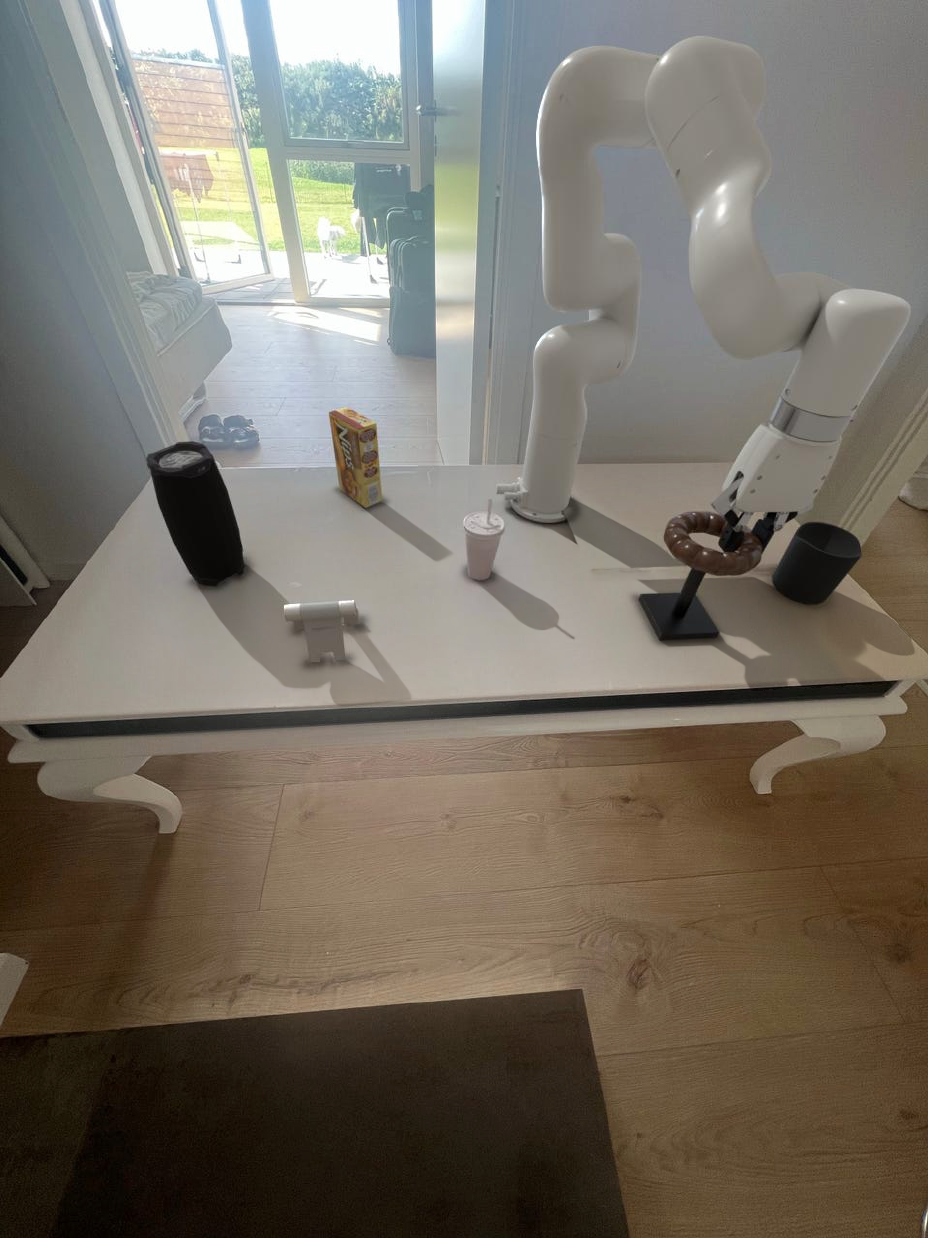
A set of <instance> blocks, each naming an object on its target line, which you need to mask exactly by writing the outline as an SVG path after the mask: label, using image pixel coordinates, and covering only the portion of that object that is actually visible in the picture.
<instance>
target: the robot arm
mask: <svg viewBox="0 0 928 1238" xmlns="http://www.w3.org/2000/svg"><path fill="white" fill-rule="evenodd" d="M766 71H767V70H766V66H765V64H764V61H763V59H762V57H761V56H760V55H759V53H758V52H757V51H756V50H755V49H753V47H751V46H749V45H746V44H744V43H740V42H735V41H731V40H726V39H722V38H717V37H714V36H708V35H695V36H690V37H687V38H684V39H682V40H680V41H678V42H677V43H675V44H674V45H672V46H671V47H670V48H669V49H667V50H666V51H665V52H664V53H663V54H662V55H659V54H654V53H649V52H643V51H638V50H631V49H629V48H624V47H618V46H613V45H590V46H586V47H582V48H579V49H577V50H576V51H573V52H572V53H570V54H569V55H567V56H566V57H565V58H564V59H563V60H562V61H561V63H560V64H558V66H557V67H556V69H555V70H554V71H553V74H551V76H550V78H549V80H548V83H547V85H546V88H545V90H544V92H543V95H542V99H541V102H540V107H539V109H538V115H537V122H536V136H535V137H536V142H535V143H536V159H537V166H538V174H539V181H540V183H539V184H540V191H541V192H540V194H541V271H542V272H541V273H542V274H541V275H542V292H543V297H544V300H545V303H546V305H547V306H548V307H549V308H550V309H551V310H552V311H554V312H557V313H563V314H568V313H569V314H570V313H579V312H584V311H585V312H586V311H588V320H580V321H579V320H578V321H573V322H567V323H564V324H560V325H557V326H554V327H553V328H551V329H549V330H548V331H546V332H544V334H542V336H541V337H540V338H539V340H538V341H537V343H536V345H535V346H534V350H533V355H532V376H533V392H532V403H531V404H532V405H531V406H532V407H531V411H530V419H529V420H530V421H529V428H528V434H527V441H526V449H525V454H524V455H525V456H524V462H523V468H522V476H518V477H517V482H512V483H511V484H507V483H496V484H495V489H494V491H495V495H503V500H504V501H510V505H511V507H512V509H513V510H514V512H516V513H517V514H518V515H519V516H521V517H523V518H525V519H527V520H529V521H532V522H533V521H534V522H537V523H543V524H554V523H560V522H564V521H566V520H568V519H567V516H566V513H565V511H564V510H565V509H566V508H568V506H569V503H570V499H571V494H572V490H573V486H574V481H575V477H576V472H577V467H578V464H579V459H580V455H581V449H582V446H583V441H584V436H585V433H586V427H587V423H588V407H587V402H586V399H585V390H586V389H587V388H589V387H592V386H596V385H600V384H603V383H607V382H611V381H613V380H616V379H618V378H620V377H621V376H623V375H624V374H625V373H626V372H627V371H628V370H629V368H630V366H631V364H632V363H633V360H634V358H635V354H636V349H637V342H638V333H639V332H638V330H639V320H640V319H639V318H640V308H641V297H642V283H643V267H642V261H641V256H640V253H639V250H638V248H637V245H636V244H635V243H634V242H633V240H632V239H631V238H629V237H628V236H626V235H625V234H623V233H622V234H621V233H618V232H606V233H605V205H606V204H605V203H606V197H605V196H606V195H605V186H604V181H603V176H602V173H601V170H600V166H599V164H598V162H597V159H596V156H595V150H596V149H597V148H598V147H610V148H625V149H626V148H627V149H628V148H629V149H642V150H643V149H648V150H649V149H652V150H653V149H655V150H656V149H657V150H658V151H659V153H660V155H661V157H662V160H663V162H664V164H665V167H666V169H667V171H668V173H669V175H670V178H671V180H672V182H673V185H674V186H675V188H676V192H677V193H678V195H679V198H680V200H681V202H682V205H683V207H684V209H685V211H686V213H687V216H688V219H689V221H690V225H691V229H690V234H689V242H688V272H689V273H688V275H689V276H688V277H689V283H690V286H691V290H692V293H693V296H694V299H695V302H696V304H697V307H698V308H699V311H700V313H701V316H702V318H703V320H704V322H705V324H706V326H707V329H708V330H709V332H710V334H711V336H712V337H713V339H714V340H715V342H716V343H717V345H718V346H719V347H720V348H721V350H722V351H723V352H725V353H726V354H727V355H728V356H730V357H733V358H735V359H737V360H744V361H751V360H752V361H753V360H757V359H760V358H765V357H768V356H772V355H775V354H781V353H789V352H800V355H799V357H798V358H797V361H796V363H795V365H794V367H793V369H792V371H791V373H790V376H789V378H788V380H787V382H786V384H785V386H784V388H783V390H782V392H781V394H780V397H779V398H778V401H777V402H776V405H775V407H774V409H773V411H772V412H771V414H770V417H769V420H768V421H764V422H761V423H760V424H759V425H758V426H757V427H756V429H755V430H754V431H753V433H752V434H751V436H750V437H749V438H748V440H747V441H746V443H745V444H744V446H743V448H742V449H741V450H740V452H739V454H738V456H737V458H735V459H736V460H734V463H733V465H732V467H731V468H730V470H729V472H728V474H727V476H726V478H725V479H724V482H723V484H722V487H721V493H720V494H719V495H718V496H717V497H715V499H714V500H713V501H712V502H711V504H710V506H711V507H712V508H713V509H714V511H715V513H717V514H721V515H722V516H724V518H725V520H726V521H727V522H728V523H727V525H726V527H725V529H724V531H723V533H722V535H721V537H719V539H718V542H717V544H718V547H719V548H720V549H721V550H722V552H735V551H736V549H737V548H738V546H739V544H740V542H741V540H742V538H743V537H744V532H743V528H744V527H745V525H746V526H747V524H748V523H749V521H750V519H751V518H752V517H753V515H754V514H755V513H764V514H763V517H762V518H759V519H757V520H756V522H755V524H754V526H753V527H752V529H751V530H752V531H753V533H754V534H755V535H756V536H757V537H758V539H759V540H760V541H761V543H762V555H763V554H764V552H765V551H766V549H767V547H768V545H769V543H770V541H771V540H772V538H773V537H774V535H775V532H776V533H777V532H780V531H781V530H782V529H783V528H784V526H785V524H787V523H789V522H790V521H792V520H793V519H795V518H796V517H797V516H801V515H803V514H805V513H807V512H810V511H812V510H813V508H814V505H815V504H814V502H815V501H814V500H815V498H816V497H817V495H818V493H819V492H820V490H821V488H822V486H823V485H824V483H825V481H826V480H827V479H826V478H827V477H828V475H829V473H830V471H831V470H832V467H833V465H834V462H835V460H836V457H837V455H838V453H839V450H840V447H841V444H842V441H843V437H842V435H843V433H844V432H845V430H846V428H847V426H848V425H849V423H852V422H854V421H855V420H856V419H857V417H858V411H857V410H858V407H859V406H860V404H861V402H862V401H863V399H864V397H865V395H866V394H867V393H868V391H869V389H870V387H871V386H872V384H873V382H874V380H875V379H876V378H877V376H878V374H879V372H880V371H881V370H882V367H883V366H884V364H885V362H886V361H887V359H888V357H889V356H890V354H891V352H892V351H893V349H894V347H895V345H896V343H897V342H898V340H899V338H900V337H901V335H902V333H903V332H904V330H905V328H906V326H907V324H908V323H909V321H910V317H911V314H912V313H911V312H912V310H911V309H912V308H911V305H910V303H909V302H908V301H906V300H905V299H904V298H903V297H900V296H898V295H894V294H891V293H888V292H883V291H878V290H872V289H862V288H855V287H853V286H850V285H848V284H845V283H843V282H842V281H839V280H838V279H835V278H833V277H831V276H829V275H826V274H824V273H820V272H816V271H808V270H807V271H798V272H787V273H780V274H774V272H773V270H772V268H771V266H770V264H769V262H768V260H767V258H766V256H765V254H764V251H763V248H762V246H761V244H760V241H759V238H758V235H757V232H756V228H755V222H754V204H755V200H756V198H757V197H758V195H759V194H760V193H761V192H762V191H763V189H764V188H765V186H766V185H767V184H768V181H769V179H770V178H771V175H772V172H773V168H774V167H773V166H774V165H773V164H774V162H773V157H772V154H771V151H770V149H769V147H768V145H767V143H766V140H765V139H764V136H763V134H762V132H761V130H760V129H759V125H758V123H757V120H758V119H759V116H760V114H761V112H762V110H763V107H764V103H765V99H766V94H767V88H768V80H767V79H768V77H767V76H768V75H767V72H766ZM731 504H732V505H731ZM739 514H740V515H739Z"/></svg>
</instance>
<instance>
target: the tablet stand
mask: <svg viewBox="0 0 928 1238" xmlns="http://www.w3.org/2000/svg"><path fill="white" fill-rule="evenodd" d="M283 615H284V616H283V617H284V620H285V622H286V623H288V622H289V623H290V622H292V623H293V625H294V627H295V630H302V631H303V630H304V632H305V641H306V647H307V655H308V661H309V662H310V663H320V662H321V654H323V653H332V654H333V657H334V660H335V662H336V661H344V660H345V659H346V649H345V641H344V629H343V627H355V626H360V613H359V608H357V605H356V600H355V599H353V600H340V601H339V600H337V601H325V602H324V601H323V602H322V601H321V602H307V603H291V604H284V606H283Z"/></svg>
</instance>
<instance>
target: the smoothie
mask: <svg viewBox="0 0 928 1238" xmlns="http://www.w3.org/2000/svg"><path fill="white" fill-rule="evenodd" d="M487 499H488V501H487V509H486V511H474V512H472V513H469V514H468V515H466V516H465V517H464V518H463V523H462V530H463V533H464V538H465V551H466V565H467V575H468V576H469V577H470V578H471V579H473V580H475V581H485V580H487V579H488V578H489V579H490V576H491V573H492V569H493V566H494V564H495V563H494V562H495V559H496V556H497V552H498V548H499V545H500V542H501V538H502V536H503V535H504V533H505V527H506V522H505V521H504V519H503V518H502V517H501V516H500V515H497V514H495V513H492V505H493V497H492V496H489V497H488V498H487Z"/></svg>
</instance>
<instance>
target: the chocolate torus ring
mask: <svg viewBox="0 0 928 1238" xmlns="http://www.w3.org/2000/svg"><path fill="white" fill-rule="evenodd" d="M727 523H728V522H727V521H726V520H725V518H724V516H722V515H721V514H719V513H718V512H712V511H709V510H703V511H702V510H699V511H698V510H697V511H694V510H693V511H684V512H683V513H681V514H679V515H676V516H674V517H673V518H671V519H669V521H667V524H666V526H665V529H664V533H663V542H664V544H665V546H666V547H667V549H668V550H669V552H670V554H671V555H672V557H674V558H675V559H676V560H678V561H680V562H681V563H683V564H684V565H685V566H687V567H689V568H690V569H691V568H692V569H694V570H698V571H701V572H705V573H706V574H708V575H712V576H716V577H729V576H731V577H732V576H733V577H735V576H742V575H744V574H746V573H748V572H749V571H751V570H753V569H754V568H756V567H758V565H760V563H761V561H762V557H763V554H762V543H761V541H760V540H759V539H758V537H757V536H756V535H755V534H754V533H753V531H752V529H751V528H750V527H749V526H748V525H747V524H746V525H745V527H744V528H743V532H744V537H743V538H742V540H741V542H740V544H739V546H738V548H737V549H736V551H735V552H723V551H718V550H714V549H711V548H708V547H705V546H703V545H701V544H700V543H697V542H696V541H694V540H693V539H692V538H691V536H690V534H706V535H709V536H713V537H717V538H720V537H721V535H722V533H723V531H724V529H725V527H726V525H727Z"/></svg>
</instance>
